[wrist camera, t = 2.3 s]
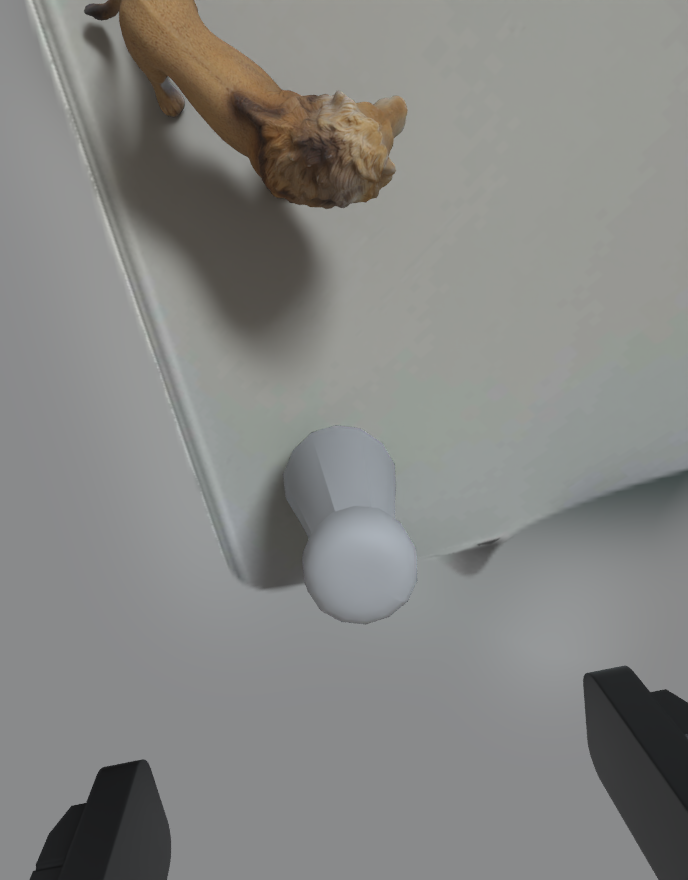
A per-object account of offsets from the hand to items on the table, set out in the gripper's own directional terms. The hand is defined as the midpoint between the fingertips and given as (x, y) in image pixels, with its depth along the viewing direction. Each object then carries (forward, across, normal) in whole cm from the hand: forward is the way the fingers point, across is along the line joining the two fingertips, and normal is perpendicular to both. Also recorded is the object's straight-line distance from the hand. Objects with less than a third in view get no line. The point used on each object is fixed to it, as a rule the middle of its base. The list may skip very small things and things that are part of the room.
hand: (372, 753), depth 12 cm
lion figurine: (+24, 0, -16) cm, 28 cm away
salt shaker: (+24, 0, +3) cm, 24 cm away
